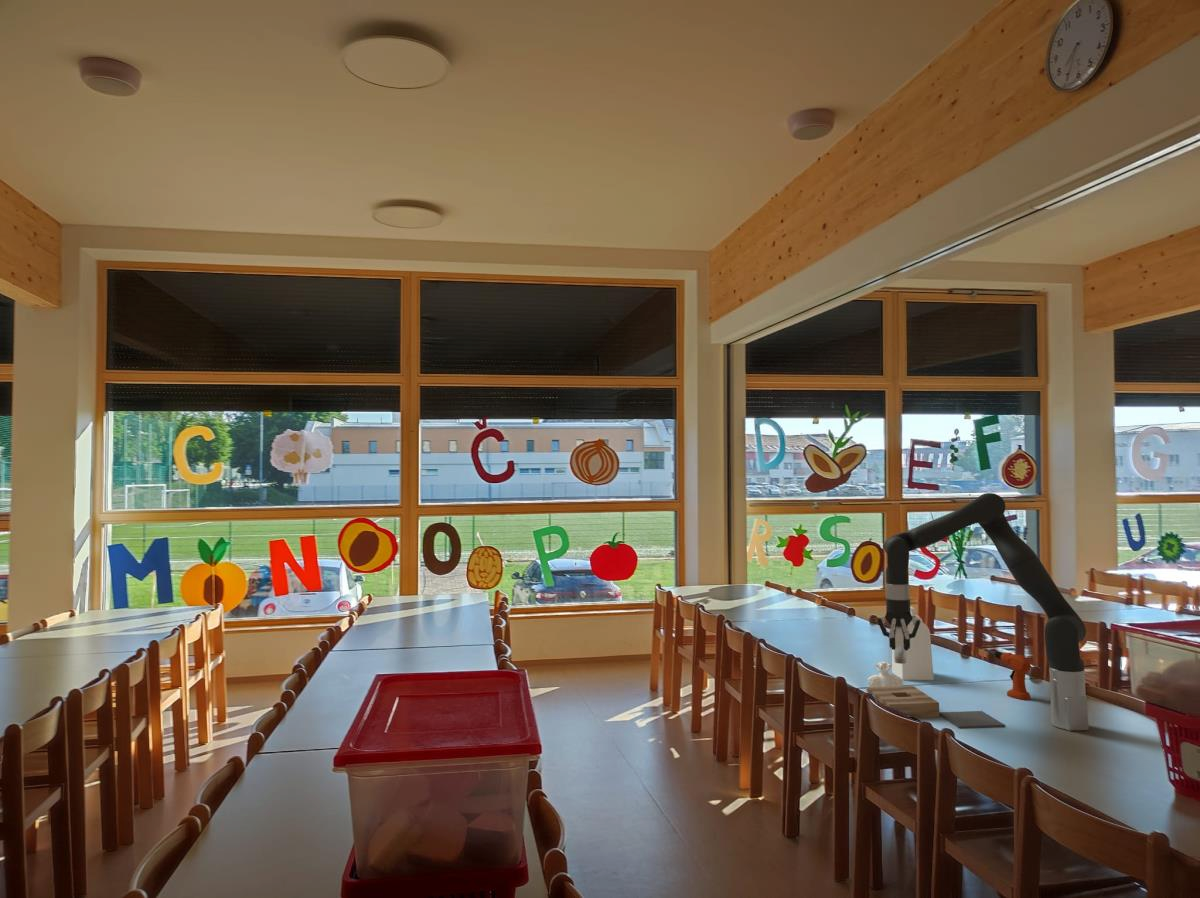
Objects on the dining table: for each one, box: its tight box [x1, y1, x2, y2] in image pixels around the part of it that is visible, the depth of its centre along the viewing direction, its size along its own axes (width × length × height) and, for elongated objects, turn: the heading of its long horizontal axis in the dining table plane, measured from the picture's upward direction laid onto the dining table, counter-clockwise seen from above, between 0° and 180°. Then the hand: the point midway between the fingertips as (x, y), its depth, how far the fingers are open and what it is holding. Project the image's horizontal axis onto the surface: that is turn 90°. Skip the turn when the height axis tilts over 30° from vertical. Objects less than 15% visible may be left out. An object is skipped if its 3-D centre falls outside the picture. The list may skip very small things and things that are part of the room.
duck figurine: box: [867, 660, 904, 687], centre depth 280 cm, size 12×8×11 cm
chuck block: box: [866, 685, 941, 719], centre depth 259 cm, size 20×16×4 cm
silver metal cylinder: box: [894, 626, 906, 664], centre depth 260 cm, size 4×4×12 cm
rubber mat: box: [939, 710, 1006, 729], centre depth 245 cm, size 14×14×1 cm
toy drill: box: [983, 648, 1032, 701], centre depth 273 cm, size 5×19×15 cm, turn 22°
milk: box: [891, 605, 935, 681], centre depth 300 cm, size 12×12×26 cm
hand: (899, 649), depth 260 cm, fingers closed on silver metal cylinder, 3 cm apart
